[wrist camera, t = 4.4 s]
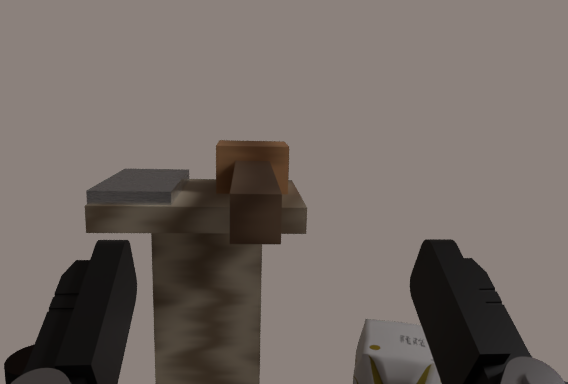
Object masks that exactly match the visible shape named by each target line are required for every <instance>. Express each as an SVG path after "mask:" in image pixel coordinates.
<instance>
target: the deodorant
mask: <svg viewBox="0 0 568 384" xmlns="http://www.w3.org/2000/svg"><path fill="white" fill-rule="evenodd" d="M33 348H34V345H31V346H28V347H25V348H23V349H21V350H19V351H17V352H15V353H14V354H12V355H11V356H10V357H9V358H8V359H7V360H6V362H5V363H4V369H5V380H6V384H11V383H12V382H13V381H14V380H15V379H17V378H18V377H20V376H21V374H22V373H23V371H24V369H25V367H26V365H27V363H28V360H29V358H30V355H31V353H32V350H33Z"/></svg>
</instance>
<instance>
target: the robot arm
mask: <svg viewBox="0 0 568 384" xmlns="http://www.w3.org/2000/svg"><path fill="white" fill-rule="evenodd" d="M410 292H411V297H412V300H413V303H414V306H415V308H416V311H417V314H418V317H419V320H420V323H421V326H422V328H423V331H424V334H425V337H426V340H427V343H428V346H429V349H430V351H431V354H432V357H433V360H434V363H435V366H436V369H437V371H438V374H439V377H440V380H441V383H442V384H568V382H565V381H563V379H562V378H561V376H560V375H559V374H558V373H557V372H556V371H555V370H554V369H552V368H551V367H550V366H549V365H547V364H546V363H544V362H542V361H540V360H537V359H535V358H532V356H531V355H530V353H529V352H528V350H527V348H526V346H525V344H524V342H523V340H522V338H521V336H520V335H519V333H518V331H517V329H516V327H515V325H514V323H513V321H512V320H511V318H510V316H509V314H508V312H507V310H506V308H505V307H504V305H502V301H501V299H500V297H499V295H498V293H497V292H495V288H494V286H493V284H492V282H491V280H490V278H489V277H488V274H487V272H485V271H484V270H483V269H482V268H481V267H480V266H479V265H478V264H477V263H476V262H475V261H474V260H473V259H472V258H463V256H462V254H461V252H460V250H459V248H458V246H457V244H456V243H455V241H453V240H424V242H423V243H422V245H421V249H420V251H419V254H418V257H417V260H416V262H415V265H414V268H413V271H412V274H411V277H410ZM136 294H137V280H136V273H135V268H134V263H133V257H132V252H131V247H130V243H129V241H128V240H98V241H97V243H96V245H95V248H94V251H93V254H92V257H91V259H90V260H76V261H75V262H74V263H73V264H72V265H71V266H70V267H69V268H68V269H67V271H66V272H65V273H64V274H63V275H62V276H61V279H60V281H59V284H58V286H57V289H56V291H55V297H53V299H52V302H51V304H50V307H49V312H47V314H46V317H45V320H44V322H43V325H42V327H41V330H40V332H39V335H38V337H37V340H36V342H35V345H34V348H33V350H32V353H31V355H30V358H29V360H28V363H27V365H26V367H25V369H24V371H23V373H22V374H21V376H20V377H18V378H17V379H15V380H14V381H13V382H12V383H11V384H118V379H119V374H120V370H121V364H122V361H123V356H124V352H125V347H126V343H127V337H128V333H129V329H130V324H131V320H132V315H133V311H134V306H135V301H136Z"/></svg>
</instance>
